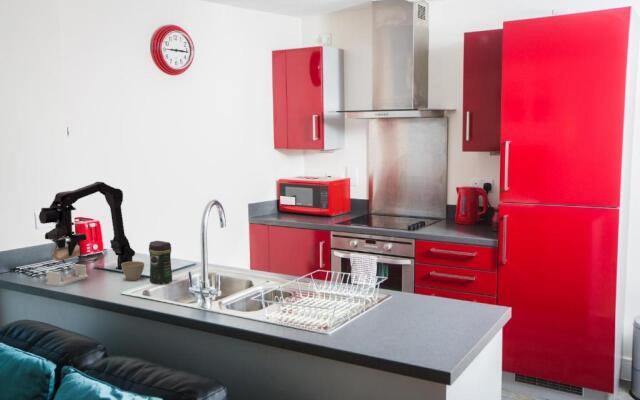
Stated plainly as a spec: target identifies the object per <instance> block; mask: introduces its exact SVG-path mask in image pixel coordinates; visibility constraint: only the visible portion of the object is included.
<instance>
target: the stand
mask: <svg viewBox="0 0 640 400" xmlns="http://www.w3.org/2000/svg"><path fill="white" fill-rule="evenodd" d="M72 266H73V268H71V269H70V273H71V274H68V275H65V274H64V273H62V272H57V271H47V272H46V273H47V274H46V275H47V281H46V282H45V284H46V285H48V286H54V287H55V286H56V287H63V286H66V285H69V284H72V283H75V282H78V281H81V280H83V279H87V278H89V274H87V265H86V264H77V263H75V264H73V265H72Z"/></svg>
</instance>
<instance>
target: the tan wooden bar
mask: <svg viewBox="0 0 640 400" xmlns="http://www.w3.org/2000/svg"><path fill="white" fill-rule="evenodd" d="M51 252H52V261H59V262H60V261H64V260H68V259H69V260H70V259H73V258H77V257H79V256H81V251H80V245H78V244H77V245H76V247H75V249H74V251H73V253H72V256H69V252H68V245H67V246H65V247H63V248H54V249H52V251H51Z"/></svg>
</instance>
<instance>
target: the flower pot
mask: <svg viewBox="0 0 640 400" xmlns="http://www.w3.org/2000/svg"><path fill="white" fill-rule="evenodd" d="M121 267H122V269H121V271H122V273H123V275H124V277H125V278H126V280H128V281H137V280H139V279H140V278H141V277H142V276H141V275H142V274H143V272H144V268H145V262H143V261H137V260H136V261H135V260H134V261H133V262H125V263H122V264H121Z"/></svg>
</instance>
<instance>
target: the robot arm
mask: <svg viewBox="0 0 640 400" xmlns="http://www.w3.org/2000/svg"><path fill="white" fill-rule="evenodd" d="M96 193H100V194H102V195H103V196H104V198H105V202H106V203H107V205H108V207H109V209H110V215H111V222H112V223H111V225H112V229H113V238H112V239H110V241H109V243H110V249H111V250H112V251H113V252H114V254H115V256H117V258H116V260H117V261H116V262H117V267H115V269H116V270H122V267H121V264H122V263H125V262H133V257H134V256H135V255H136V251H135V250H134V249H133V248H132V247H131V245H130V242H129V239H128V238H127V236H126V234H125V227H124V221H123V212H122V204H123V202H124V199H123V198H124V193H123V191H122V189H120V188H117V187H113V186H111V185H109V184H107V183H105V181H95V182H94V183H91V184H88V185H86V186H82V187H79V188H77V189H74V190H67V191H60V192H57V193H56V194H55V196H54V199H53V201H52V202H51V204H50V206H49V207H41V208H40V209H41V210H40V212H39V215H38V220H39V222H40V223H41V224H51V223H52V224H53V223H55V227H54V228H52V229H51V230H49V231H48V232H46V233H45V234H44V240H50V241H51V242H53V243H55V245H56V246H57V249H59V248H63V247H66V244H67V246H68V252H69V256H72V253H73V251H74V249H75V247H76V245H77V246H78V243H80V242H83V241H87V235H86V233H79V232H78V233H75V231H73V226H75V222H73V221H72V220H73V219H72V214H73V213H72V211H76V210H77V208H76V207H75V206H74V205H73V204H75V203H76V202H77V201H78V200H80V199H83V198H85V197H87V196H90V195H93V194H96ZM67 239H68V240H67Z"/></svg>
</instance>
